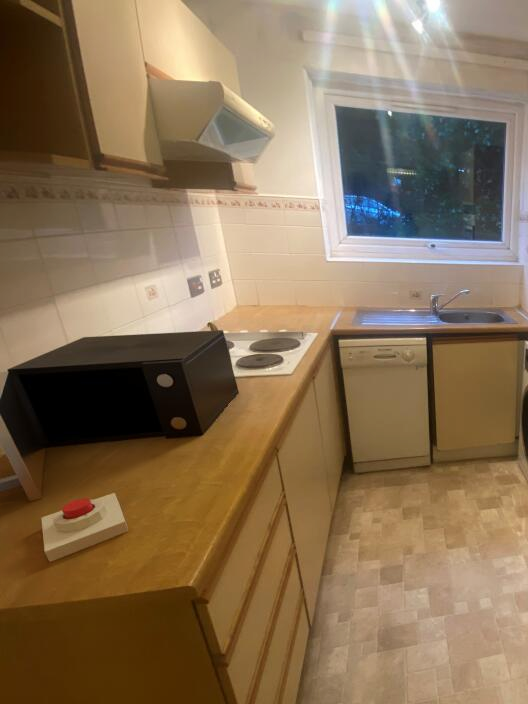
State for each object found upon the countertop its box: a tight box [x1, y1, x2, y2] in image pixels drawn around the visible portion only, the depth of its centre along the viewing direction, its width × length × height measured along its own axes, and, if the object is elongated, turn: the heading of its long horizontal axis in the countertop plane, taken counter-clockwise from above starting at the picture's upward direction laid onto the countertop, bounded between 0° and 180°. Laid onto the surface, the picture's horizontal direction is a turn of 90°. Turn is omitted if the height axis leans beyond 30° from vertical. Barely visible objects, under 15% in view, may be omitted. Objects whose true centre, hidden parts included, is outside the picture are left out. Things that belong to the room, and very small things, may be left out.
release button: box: [61, 498, 93, 519], centre depth 76 cm, size 4×4×2 cm
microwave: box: [6, 329, 240, 449], centre depth 113 cm, size 28×34×20 cm
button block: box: [40, 492, 129, 563], centre depth 76 cm, size 12×10×4 cm
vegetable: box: [206, 321, 233, 365], centre depth 139 cm, size 4×4×20 cm
